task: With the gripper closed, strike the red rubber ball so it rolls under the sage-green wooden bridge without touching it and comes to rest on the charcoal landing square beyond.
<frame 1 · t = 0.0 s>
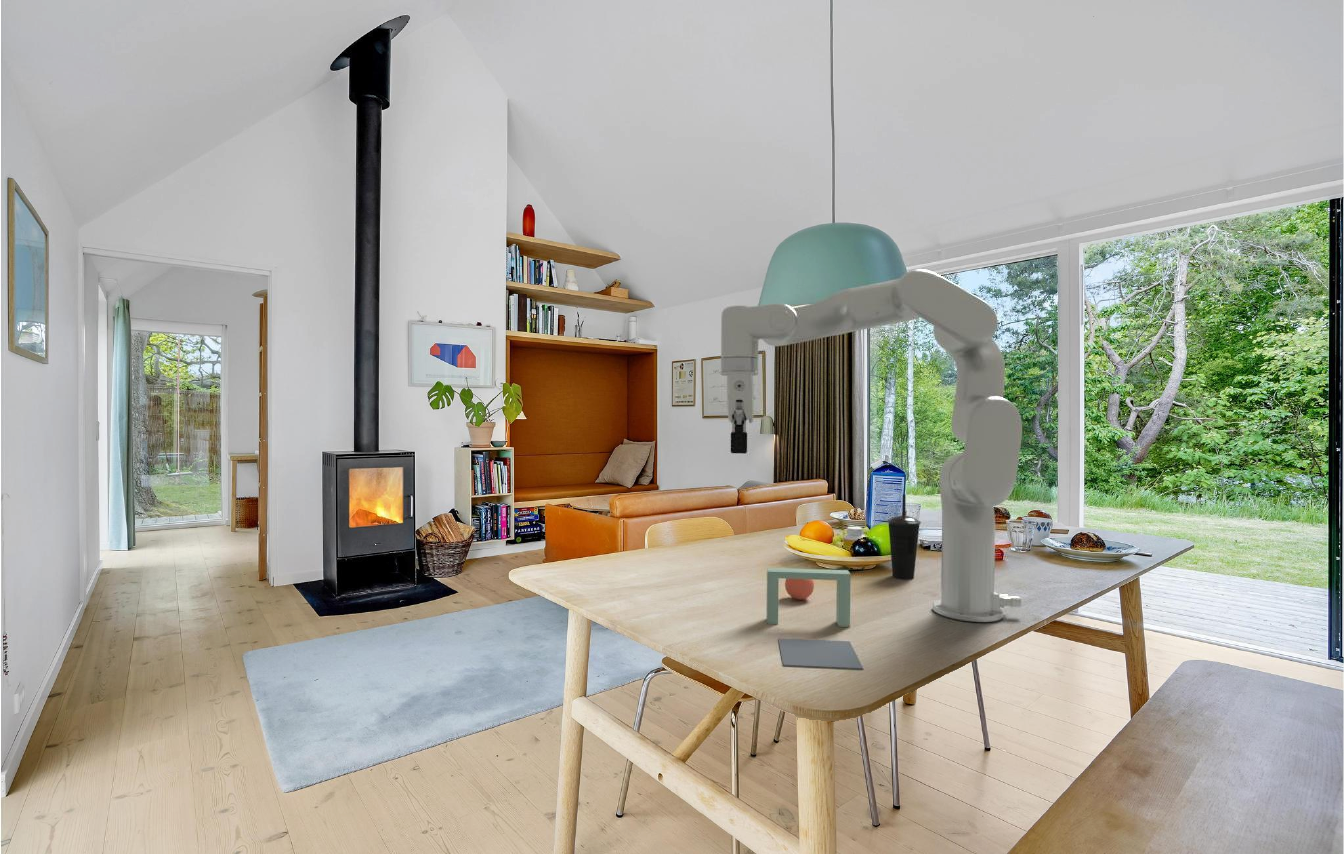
hand: (738, 452, 131), 31 cm above the table, tool pointing down, fingers open, 9 cm apart
ball: (799, 584, 136), on the table
bridge: (807, 622, 120), on the table
supplement bottle: (854, 568, 166), on the table
drinking cup: (903, 577, 156), on the table
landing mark: (818, 653, 104), on the table
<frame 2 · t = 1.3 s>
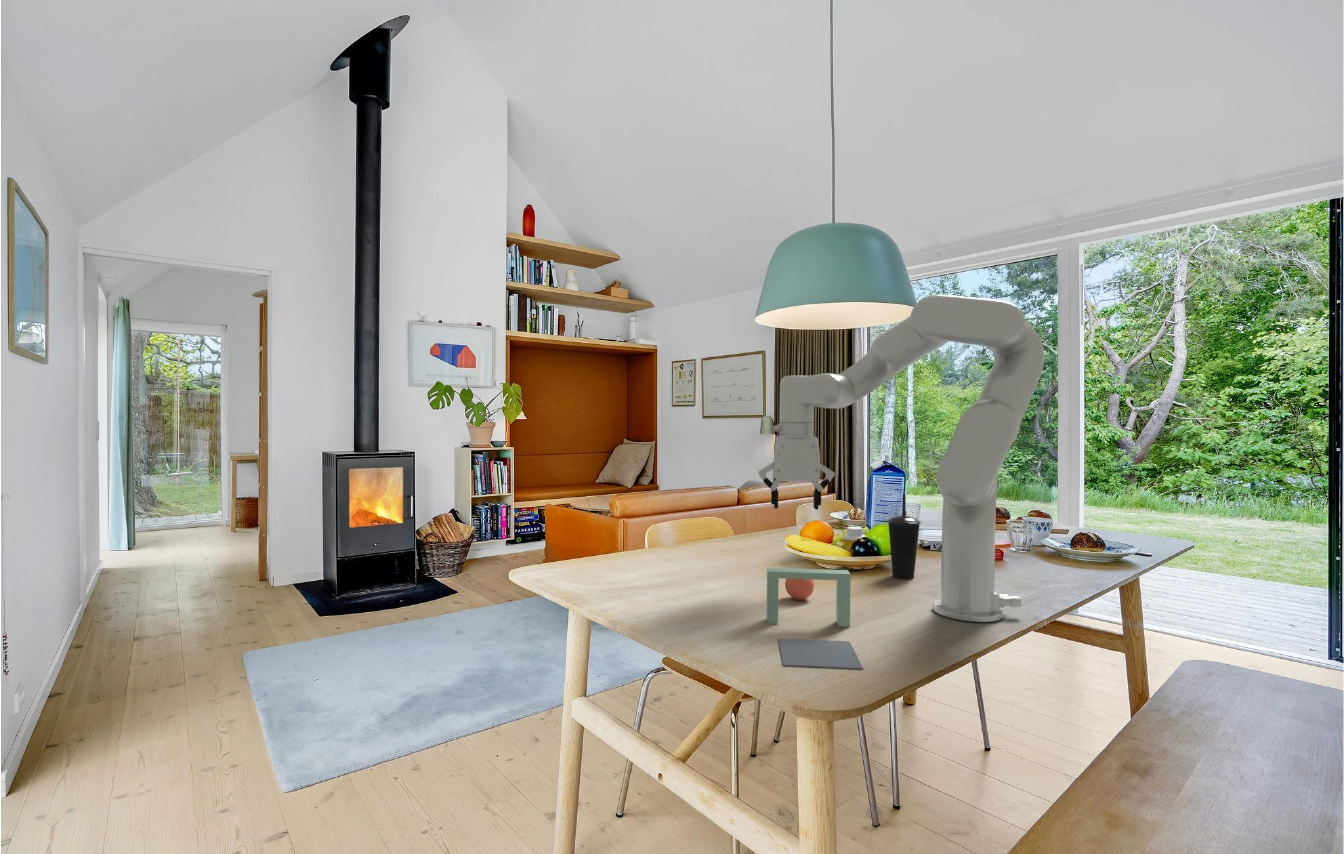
hand: (795, 507, 145), 18 cm above the table, tool pointing down, fingers open, 8 cm apart
nothing on the table moved.
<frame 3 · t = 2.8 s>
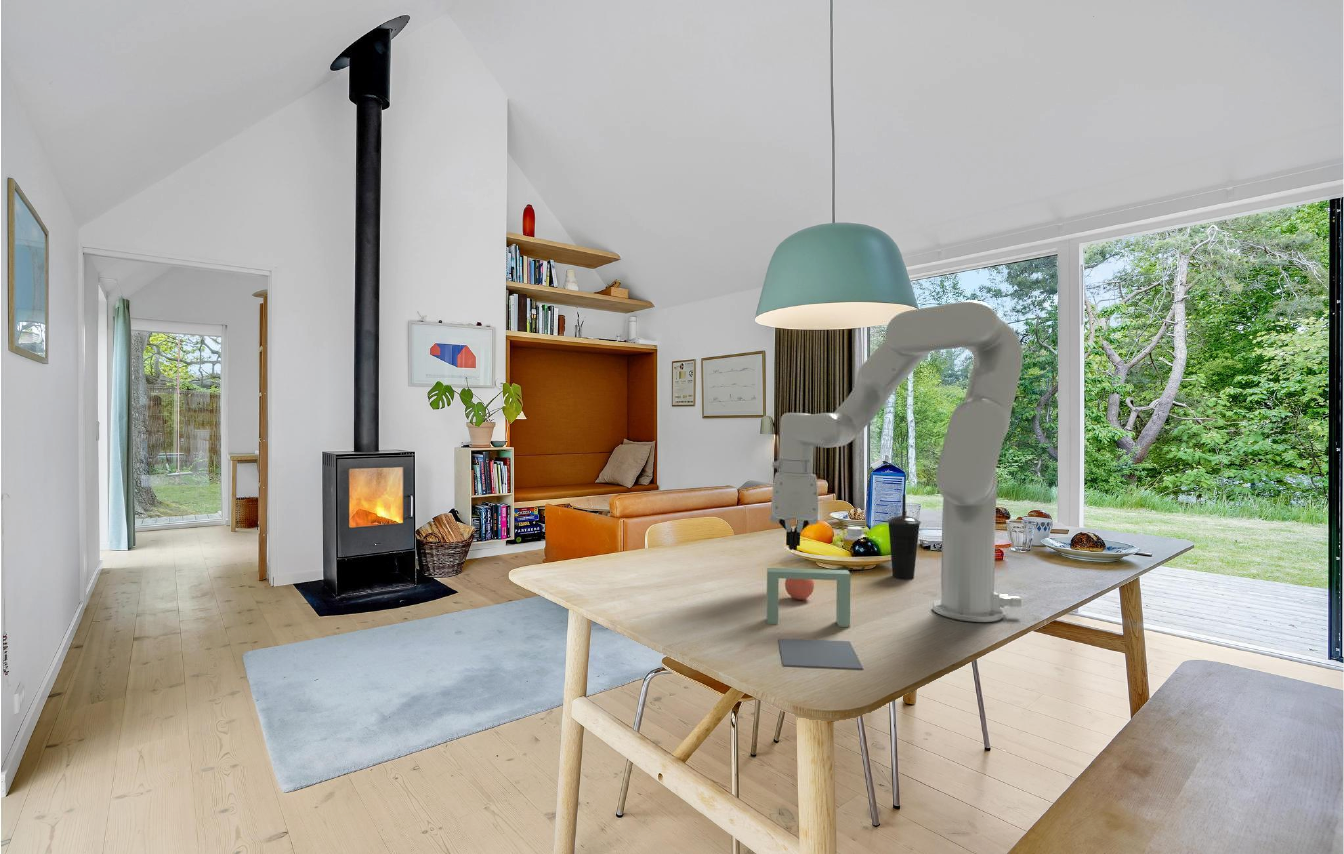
hand: (792, 548, 145), 9 cm above the table, tool pointing down, fingers closed
nothing on the table moved.
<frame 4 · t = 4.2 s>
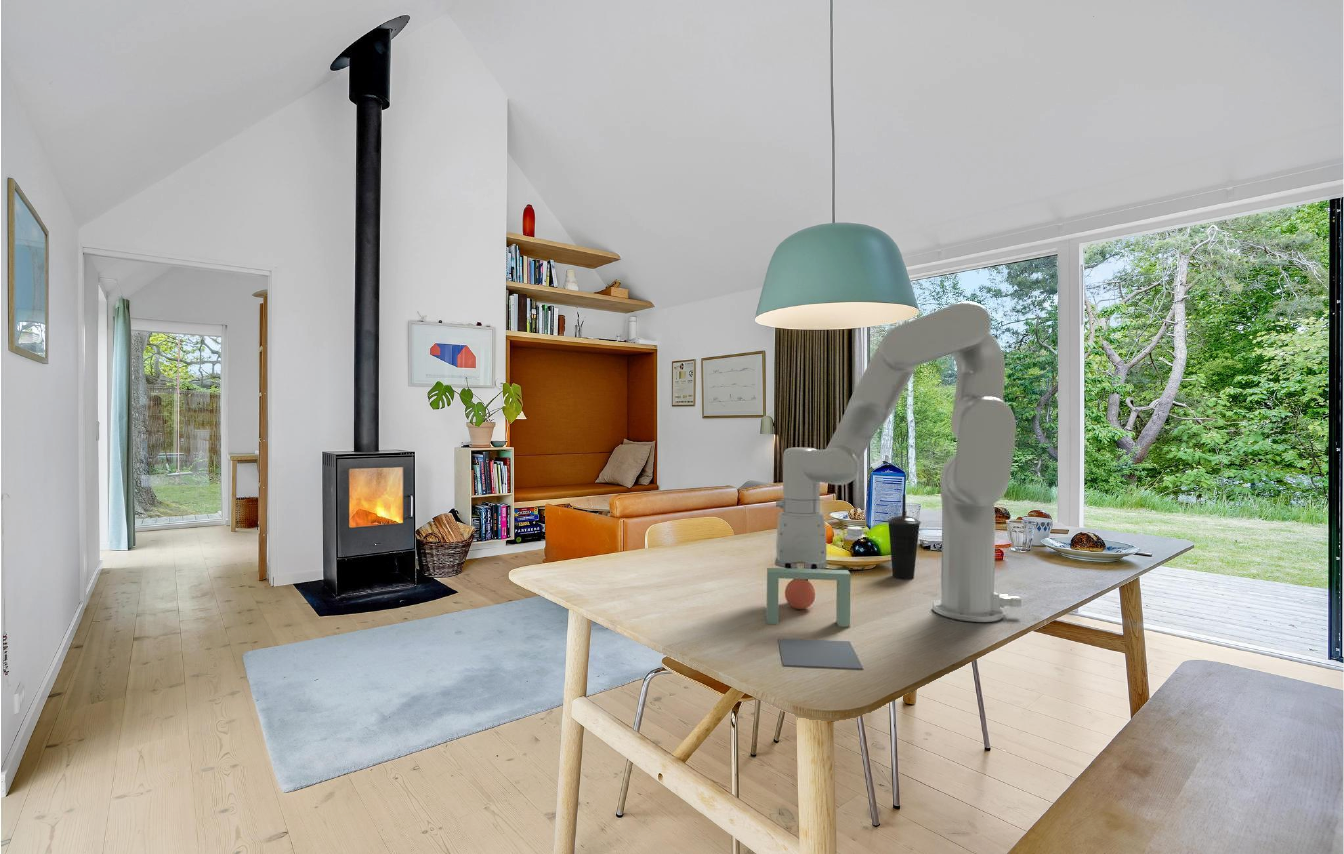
hand: (800, 594, 134), 1 cm above the table, tool pointing down, fingers closed
ball: (800, 593, 129), on the table
everything else where it was.
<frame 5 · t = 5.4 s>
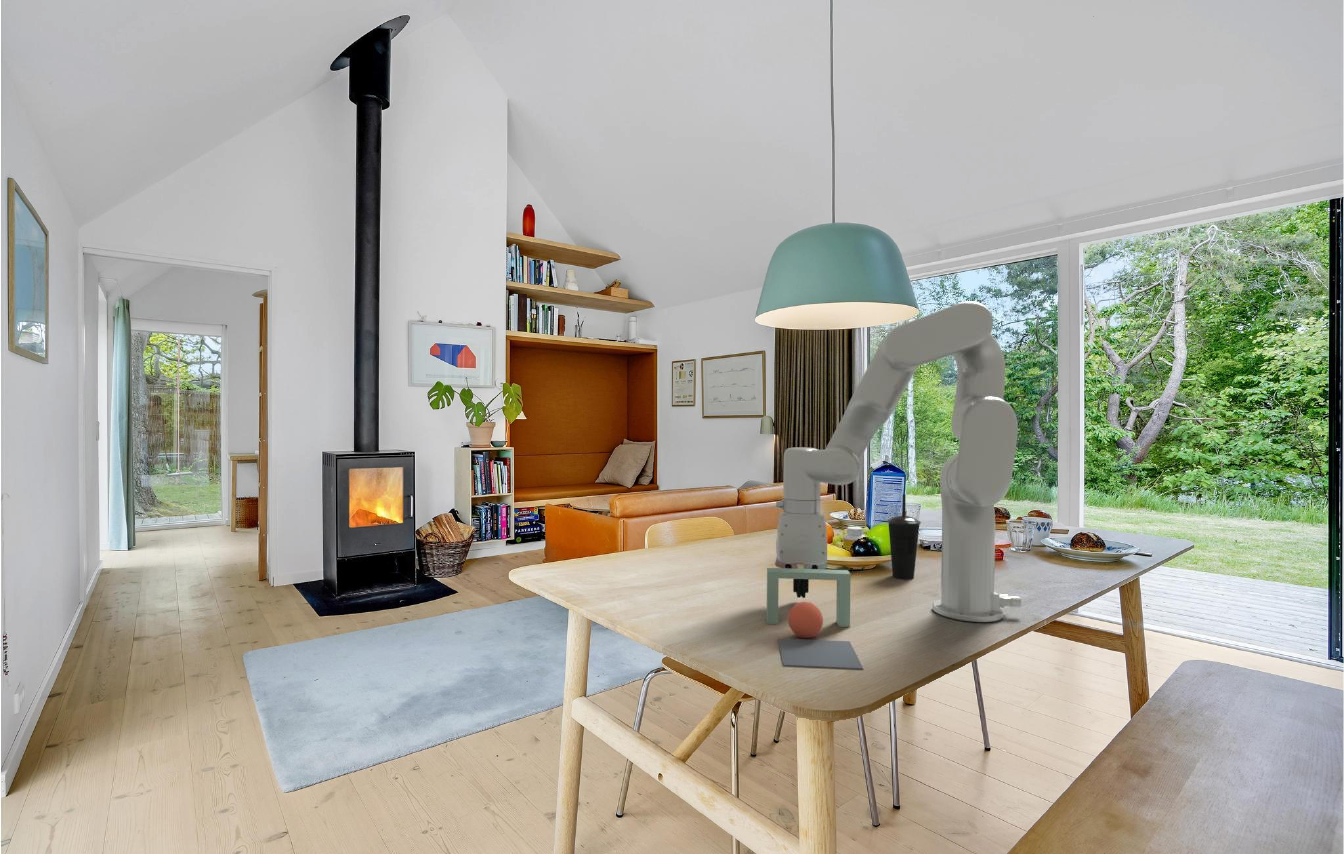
hand: (800, 595, 133), 2 cm above the table, tool pointing down, fingers closed
ball: (805, 619, 112), on the table
everything else where it was.
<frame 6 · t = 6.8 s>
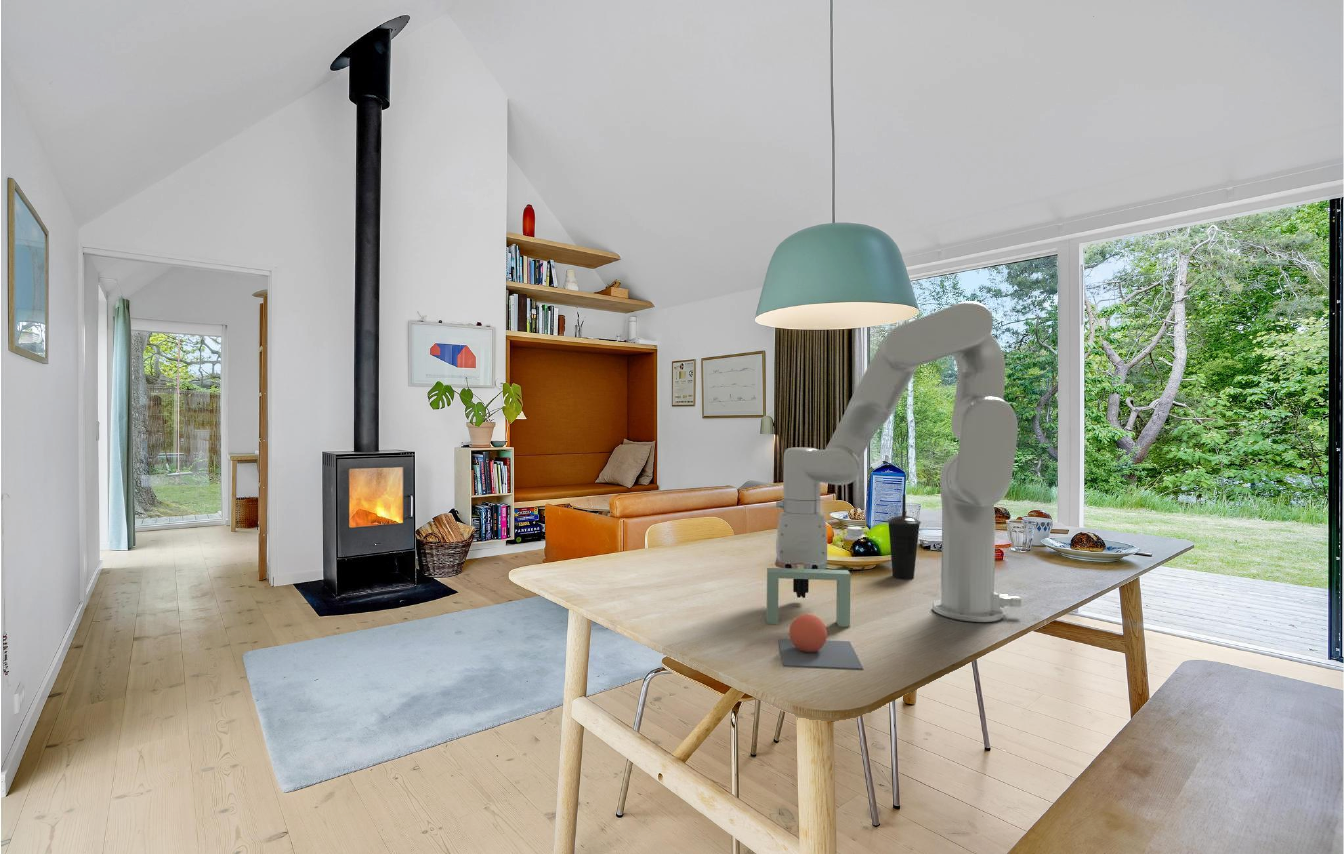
hand: (800, 595, 133), 2 cm above the table, tool pointing down, fingers closed
ball: (808, 633, 105), on the table
everything else where it was.
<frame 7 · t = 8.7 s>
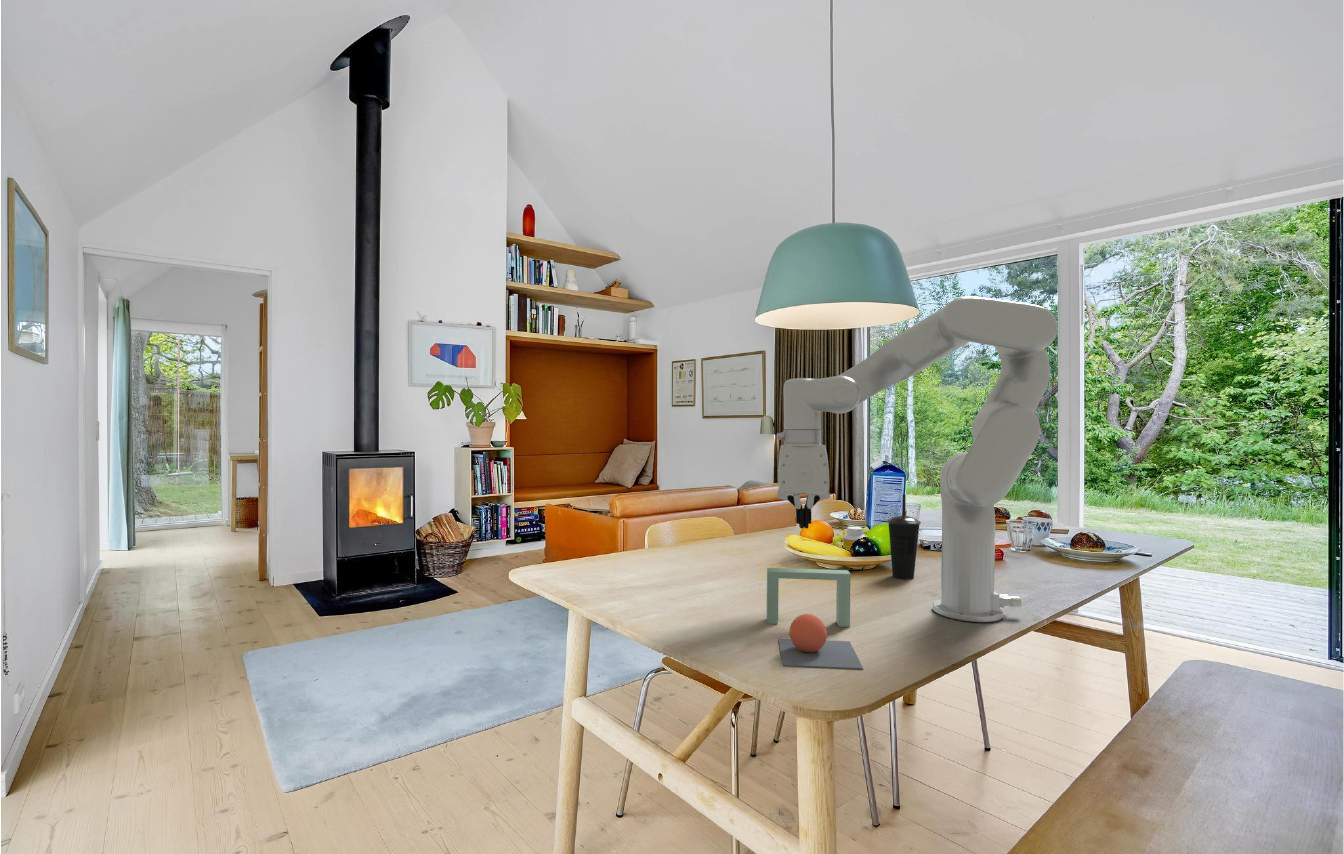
hand: (803, 527, 133), 16 cm above the table, tool pointing down, fingers closed
nothing on the table moved.
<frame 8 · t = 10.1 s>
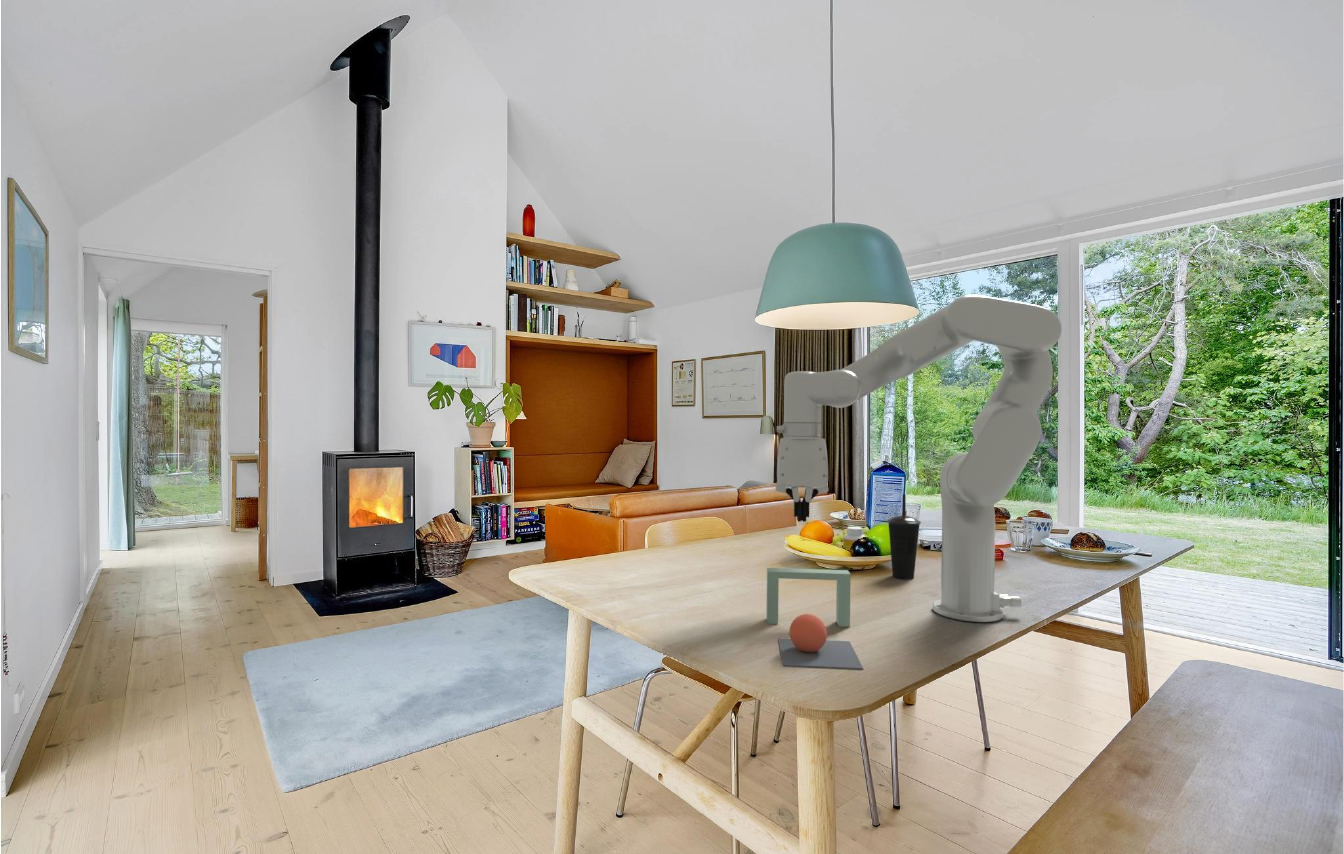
hand: (801, 520, 133), 17 cm above the table, tool pointing down, fingers closed
nothing on the table moved.
at the end: ball 1.7 cm from the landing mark (horizontally); ball never touched bridge; ball at rest at the end (0.0 cm/s) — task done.
